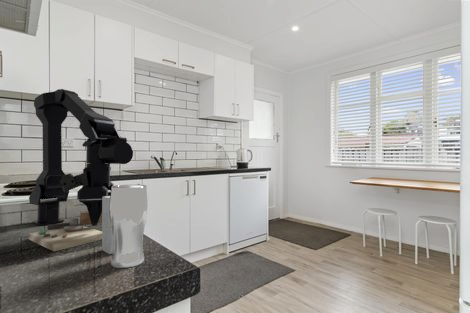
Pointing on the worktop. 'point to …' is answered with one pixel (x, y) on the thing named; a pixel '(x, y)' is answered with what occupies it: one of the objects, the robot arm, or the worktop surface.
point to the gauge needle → (74, 223)
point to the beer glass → (128, 224)
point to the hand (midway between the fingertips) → (97, 221)
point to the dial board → (65, 237)
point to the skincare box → (106, 227)
